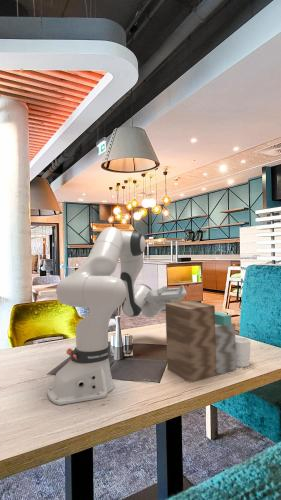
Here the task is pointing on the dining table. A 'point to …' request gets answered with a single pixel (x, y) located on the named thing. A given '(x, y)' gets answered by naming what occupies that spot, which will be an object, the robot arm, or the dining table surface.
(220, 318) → the teal bar
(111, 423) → the dining table surface
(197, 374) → the stand
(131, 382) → the dining table surface
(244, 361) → the white cup
